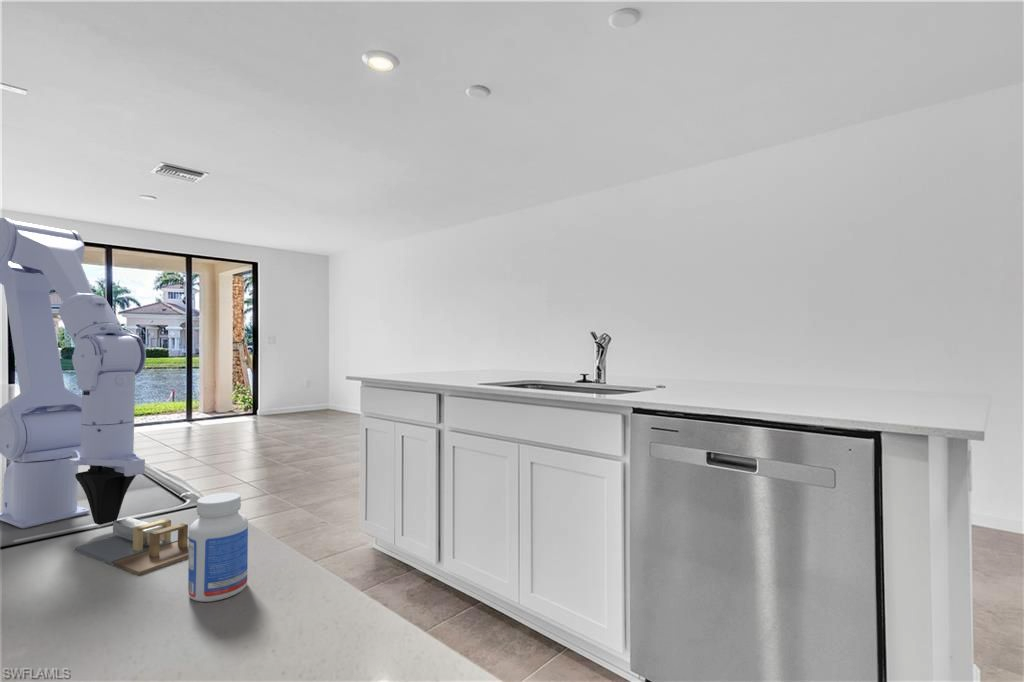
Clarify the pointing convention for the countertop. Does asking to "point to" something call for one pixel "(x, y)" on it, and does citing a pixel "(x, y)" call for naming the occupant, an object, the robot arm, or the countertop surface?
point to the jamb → (158, 552)
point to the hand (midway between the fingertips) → (105, 522)
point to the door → (126, 544)
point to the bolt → (126, 529)
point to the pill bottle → (218, 548)
